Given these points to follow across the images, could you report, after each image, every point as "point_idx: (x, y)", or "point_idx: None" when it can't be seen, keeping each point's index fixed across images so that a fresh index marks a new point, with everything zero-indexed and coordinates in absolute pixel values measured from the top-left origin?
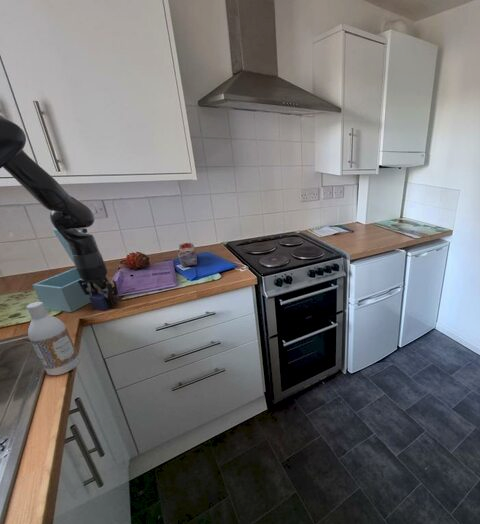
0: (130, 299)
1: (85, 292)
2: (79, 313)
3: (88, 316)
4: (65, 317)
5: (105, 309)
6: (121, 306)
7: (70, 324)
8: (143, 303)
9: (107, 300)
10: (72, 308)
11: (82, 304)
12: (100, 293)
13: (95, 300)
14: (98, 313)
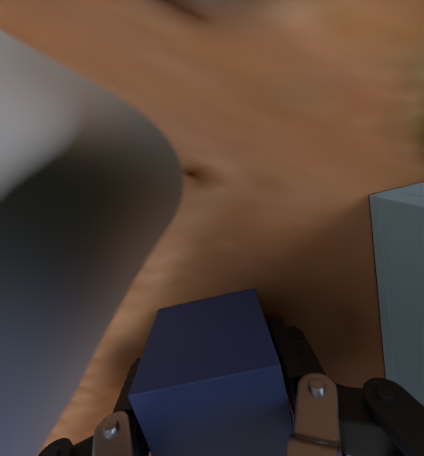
0: None
1: (396, 409)
2: (293, 213)
3: (184, 220)
4: (333, 134)
5: (156, 317)
6: (126, 377)
7: (179, 96)
8: (46, 443)
9: None
10: (387, 216)
11: (385, 285)
12: (262, 446)
13: (208, 356)
14: (164, 271)
